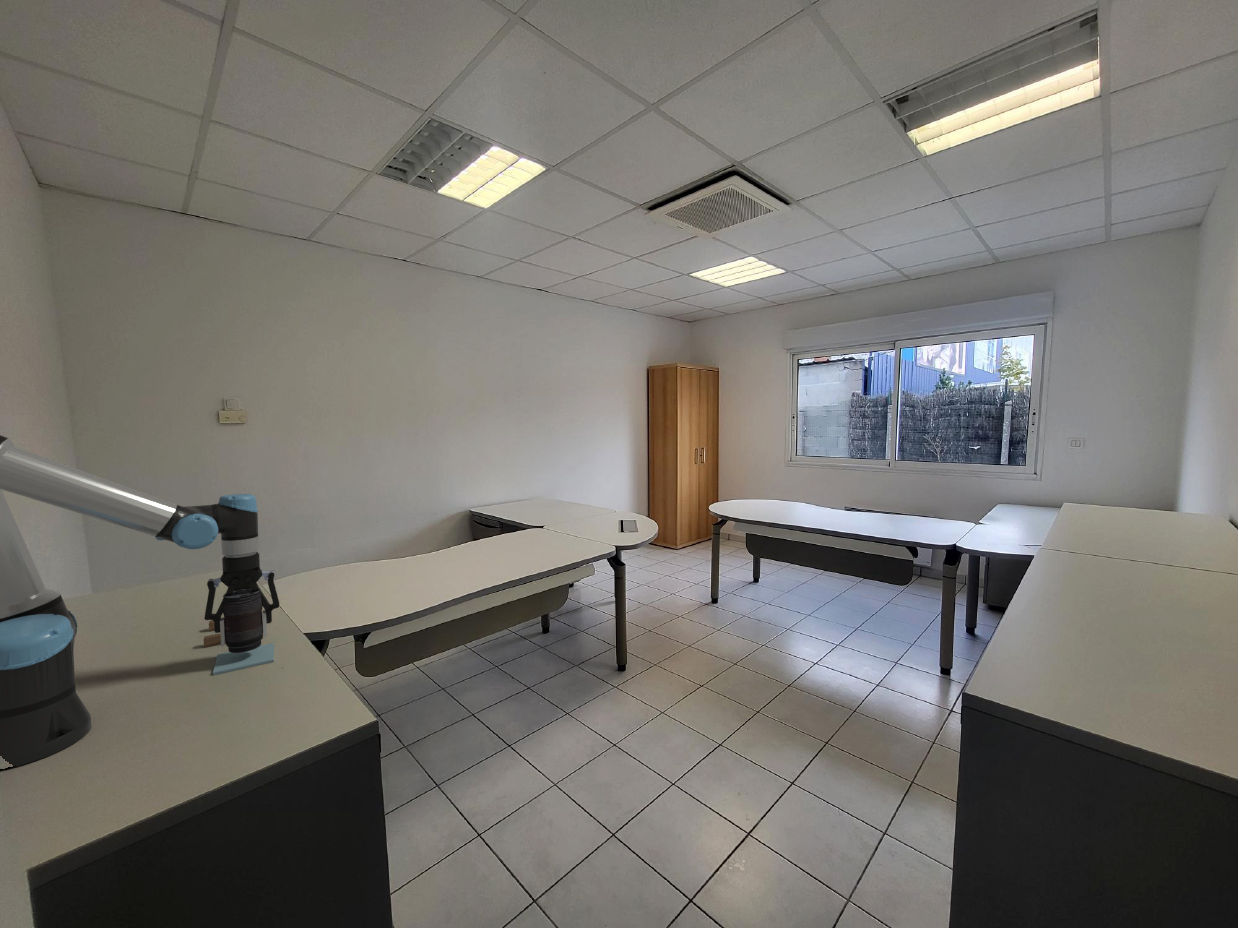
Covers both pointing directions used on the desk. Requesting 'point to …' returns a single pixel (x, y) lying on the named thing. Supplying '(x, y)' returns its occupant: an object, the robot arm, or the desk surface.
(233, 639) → the camera lens
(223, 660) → the mat
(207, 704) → the desk surface
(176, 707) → the desk surface
